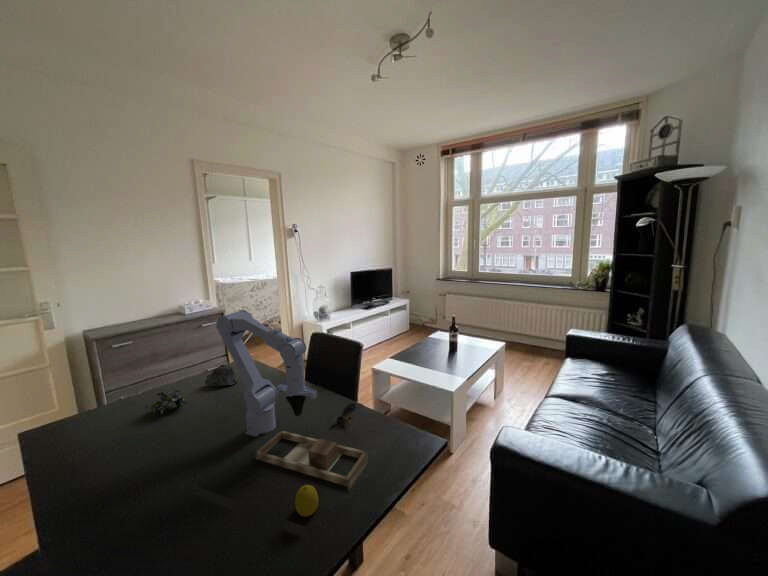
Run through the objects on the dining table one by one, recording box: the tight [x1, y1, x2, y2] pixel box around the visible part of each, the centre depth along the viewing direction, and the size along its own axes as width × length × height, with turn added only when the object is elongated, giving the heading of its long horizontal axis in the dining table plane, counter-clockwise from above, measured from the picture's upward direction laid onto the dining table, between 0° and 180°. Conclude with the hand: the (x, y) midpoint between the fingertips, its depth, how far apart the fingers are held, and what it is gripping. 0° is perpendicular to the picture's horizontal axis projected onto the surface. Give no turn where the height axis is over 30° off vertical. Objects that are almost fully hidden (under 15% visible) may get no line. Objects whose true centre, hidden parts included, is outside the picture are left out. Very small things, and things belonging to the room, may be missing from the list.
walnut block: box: [308, 438, 338, 471], centre depth 96 cm, size 6×6×5 cm
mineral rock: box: [203, 363, 239, 387], centre depth 152 cm, size 13×11×10 cm
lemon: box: [294, 484, 319, 518], centre depth 79 cm, size 6×6×8 cm
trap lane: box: [254, 430, 369, 492], centre depth 98 cm, size 32×12×4 cm, turn 68°
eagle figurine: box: [333, 402, 357, 427], centre depth 118 cm, size 8×7×9 cm
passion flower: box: [145, 387, 188, 416], centre depth 129 cm, size 11×11×12 cm
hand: (298, 414), depth 107 cm, fingers closed
